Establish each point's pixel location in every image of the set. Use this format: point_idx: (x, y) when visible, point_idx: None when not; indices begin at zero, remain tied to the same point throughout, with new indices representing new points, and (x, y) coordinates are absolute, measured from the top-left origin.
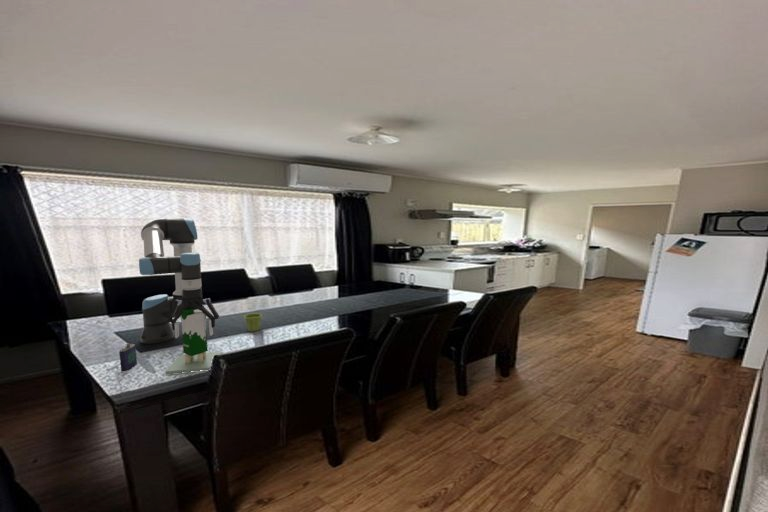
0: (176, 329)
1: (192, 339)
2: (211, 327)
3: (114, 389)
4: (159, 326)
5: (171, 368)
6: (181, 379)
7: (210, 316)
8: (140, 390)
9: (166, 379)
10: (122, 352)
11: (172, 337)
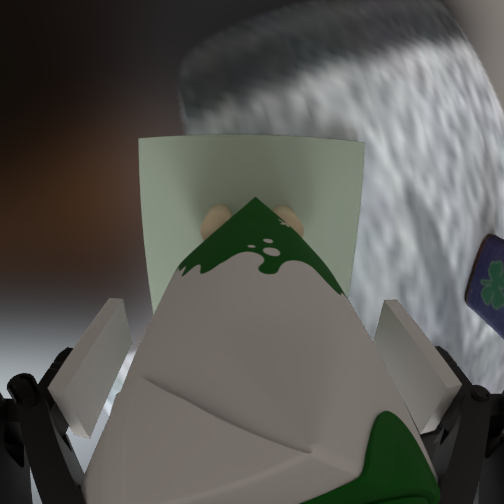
0: (419, 344)
1: (247, 233)
2: (82, 347)
3: (478, 82)
4: None
5: (348, 172)
6: (271, 67)
7: (28, 435)
8: (400, 27)
9: (340, 89)
10: None
11: None
